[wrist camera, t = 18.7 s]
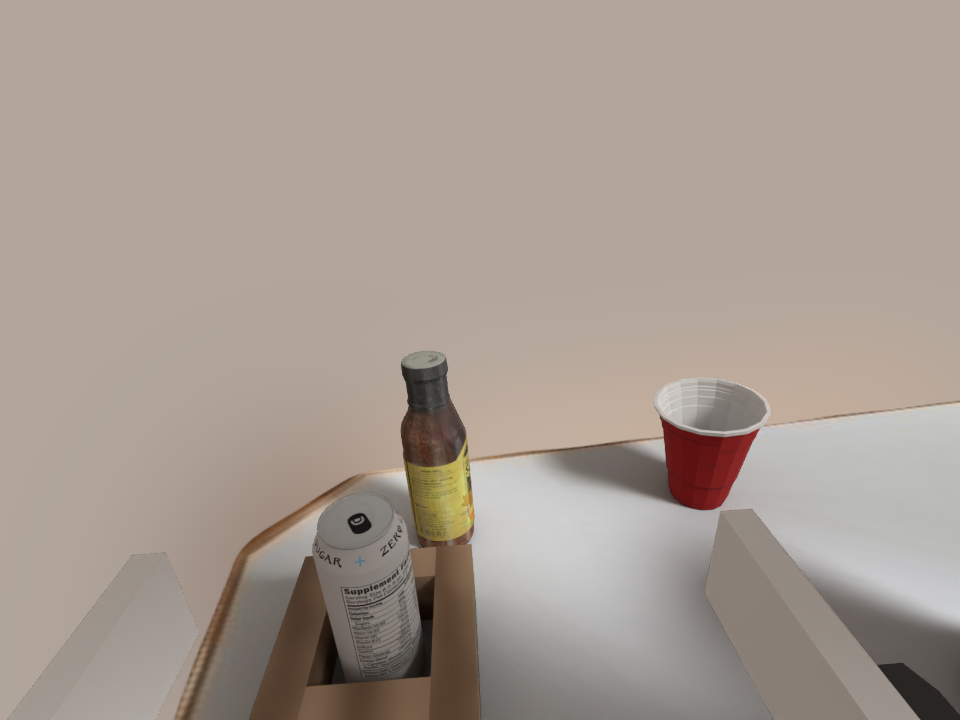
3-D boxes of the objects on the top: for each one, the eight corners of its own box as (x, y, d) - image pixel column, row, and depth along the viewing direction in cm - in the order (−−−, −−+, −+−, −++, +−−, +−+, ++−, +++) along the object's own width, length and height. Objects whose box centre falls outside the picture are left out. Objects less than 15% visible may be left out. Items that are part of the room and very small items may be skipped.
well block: (475, 594, 44) (471, 544, 42) (484, 779, 32) (479, 723, 29) (318, 606, 44) (305, 556, 41) (264, 798, 31) (240, 743, 29)
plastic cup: (626, 473, 59) (634, 384, 54) (705, 456, 61) (720, 369, 56) (680, 538, 49) (697, 437, 44) (773, 516, 51) (798, 417, 46)
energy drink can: (406, 620, 41) (382, 475, 35) (440, 680, 36) (420, 525, 30) (335, 660, 38) (296, 509, 32) (363, 730, 34) (322, 571, 27)
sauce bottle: (486, 539, 50) (476, 363, 42) (431, 566, 47) (408, 383, 39) (456, 502, 55) (441, 340, 47) (404, 525, 53) (379, 356, 44)
